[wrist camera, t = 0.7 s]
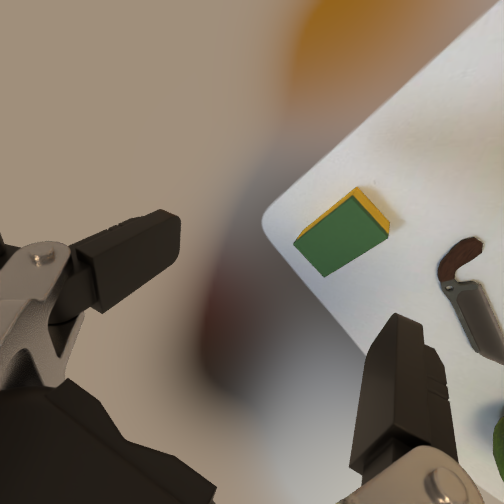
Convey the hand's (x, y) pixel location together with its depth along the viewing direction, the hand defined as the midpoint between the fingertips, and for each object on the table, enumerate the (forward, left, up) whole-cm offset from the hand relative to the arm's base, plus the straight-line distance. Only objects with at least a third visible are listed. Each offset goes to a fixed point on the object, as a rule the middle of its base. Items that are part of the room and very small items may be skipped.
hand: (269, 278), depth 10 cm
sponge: (+4, -4, -19) cm, 20 cm away
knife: (+17, 0, -19) cm, 26 cm away
